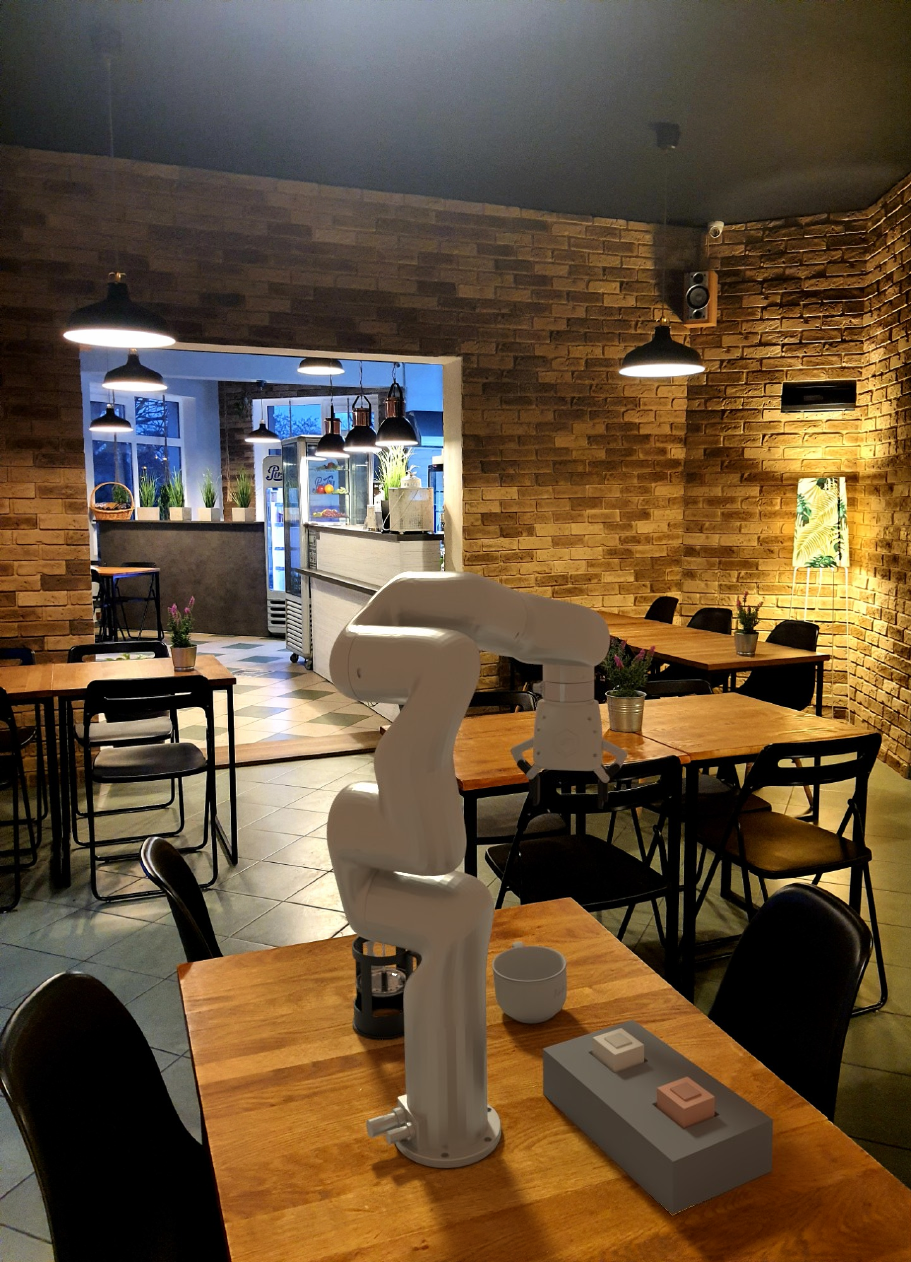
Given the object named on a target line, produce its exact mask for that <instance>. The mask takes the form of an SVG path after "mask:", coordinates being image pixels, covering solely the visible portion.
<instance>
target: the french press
mask: <svg viewBox="0 0 911 1262" xmlns="http://www.w3.org/2000/svg"><path fill="white" fill-rule="evenodd" d="M368 941H370V940H367V939H365V938H362V937H360V936H359V935H358V936H357V937H356V938H354V939H353V940H352V943H351V956H352V958H353V959H354V960H355V971H356V975H355V980H354V985H355V991H356V993H355V995H356V996H355V998H354V1000H353V1018H352V1019H353V1020H352V1028H353V1030H354V1031H355V1033H356V1034H357V1035H359V1036H361V1037H363V1038H366V1039H368V1040H369V1039H370V1040H373V1041H374V1040H375V1041H391V1040H395V1039H396V1040H397V1039H400V1038H403V1037H404V1001H403V998H404V988H405V985H406V982H407V980H408V978H409V976H410V975H411V974H412V972H413V971H414V959H415V960H416V961H415V962H416V968H417V967H418V966H419V965H420V963H421V961H422V957H421V955H420V954H418V953H416V952H413V951H410V950H407V949H404V948H400V947H395V954H393V955H386V944H382V943H381V944H382V945H381V947H382V951H381V952H382V956H379V957H376V956H368V955H366V954H364V944H365V942H368ZM371 966H383V967H378V968H373V969H371ZM392 966H393V967H392ZM416 968H415V969H416ZM385 1009H386V1010H388V1009H389V1010H396V1011H400V1013H397V1014H392V1015H387V1016H386V1015H385V1016H383V1015H381V1016H380V1015H374V1011H378V1010H379V1011H380V1010H385Z"/></svg>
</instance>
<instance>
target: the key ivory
mask: <svg viewBox="0 0 911 1262" xmlns="http://www.w3.org/2000/svg"><path fill="white" fill-rule="evenodd" d="M593 1057H595V1058H596V1059H597V1060H598V1061H600V1062H601V1063H602V1064H603V1065H604V1066H606V1067H607V1068H608V1069H609V1070H611V1071H612V1072H613V1073H616V1072H619V1071H622V1070H625V1069H628V1068H631V1067H634V1066H636V1065H639V1064H642V1063H644V1044H642V1043H641V1042H640V1041H638V1040H637V1039H636V1038H634V1037H633V1036H631V1035H630V1034H629V1033H627V1032H626V1031H625V1030H623V1029H622V1028H620V1029H617V1030H614V1031H611V1032H608V1033H605V1034H602V1035H598V1036H595V1037H593Z"/></svg>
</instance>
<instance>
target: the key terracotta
mask: <svg viewBox="0 0 911 1262" xmlns="http://www.w3.org/2000/svg"><path fill="white" fill-rule="evenodd" d="M657 1109H659V1110H660V1111H661V1112H662V1113H664V1114H665V1115H666V1116H667V1117H669V1118H670V1119H671V1120H672V1121H673V1122H675V1123H676V1124H677V1125H678V1126H680V1127H681V1128H682V1129H683V1130H684V1129H686V1128H689V1127H691V1126H694V1125H696V1124H699V1123H701V1122H704V1121H706V1120H708V1119H711V1118H713V1117H715V1097H714V1096H713V1095H712V1094H710V1093H709V1092H708V1091H706V1090H705V1089H704V1088H702V1087H701V1086H699V1085H698V1084H697V1083H695V1082H694V1081H693V1080H691V1079H690V1078H689V1077H685V1078H682V1079H679V1080H677V1081H674V1082H671V1083H669V1084H666V1085H663V1086H660V1087H658V1088H657Z"/></svg>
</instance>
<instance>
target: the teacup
mask: <svg viewBox="0 0 911 1262" xmlns="http://www.w3.org/2000/svg"><path fill="white" fill-rule="evenodd" d="M567 965H568V961H567V958H566V957H565V955H563V954H562V953H561V952H560V951H558V950H556V949H554V948H551V947H546V946H541V945H524V943H523V942H522V941H515V942H512V945H511V948H509V949H506V950H503V951H501V952H500V953H498V954H497V955H496V956H495V957H494V958H493V960H492V962H491V968H492V969H491V970H492V973H493V976H492V977H493V985H494V993H495V1000H496V1002H497V1003H496V1004H497V1005H498V1007H499V1008H500V1009H501V1011H502V1012H503V1013H504V1014H506V1015H507V1016H509V1017H510V1018H512V1019H513V1020H515V1021H517V1022H520V1023H523V1024H539V1023H543V1022H546V1021H548V1020H550V1019H551V1018H553V1017H554V1016H555V1015H556V1014H558V1013H559V1012H560V1011H561V1010H562V1008H563V1007H564V1005H565V1003H566V1000H567V993H568V991H567V990H568V989H567V988H568V983H567V982H568V980H567V975H568V974H567Z"/></svg>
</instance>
